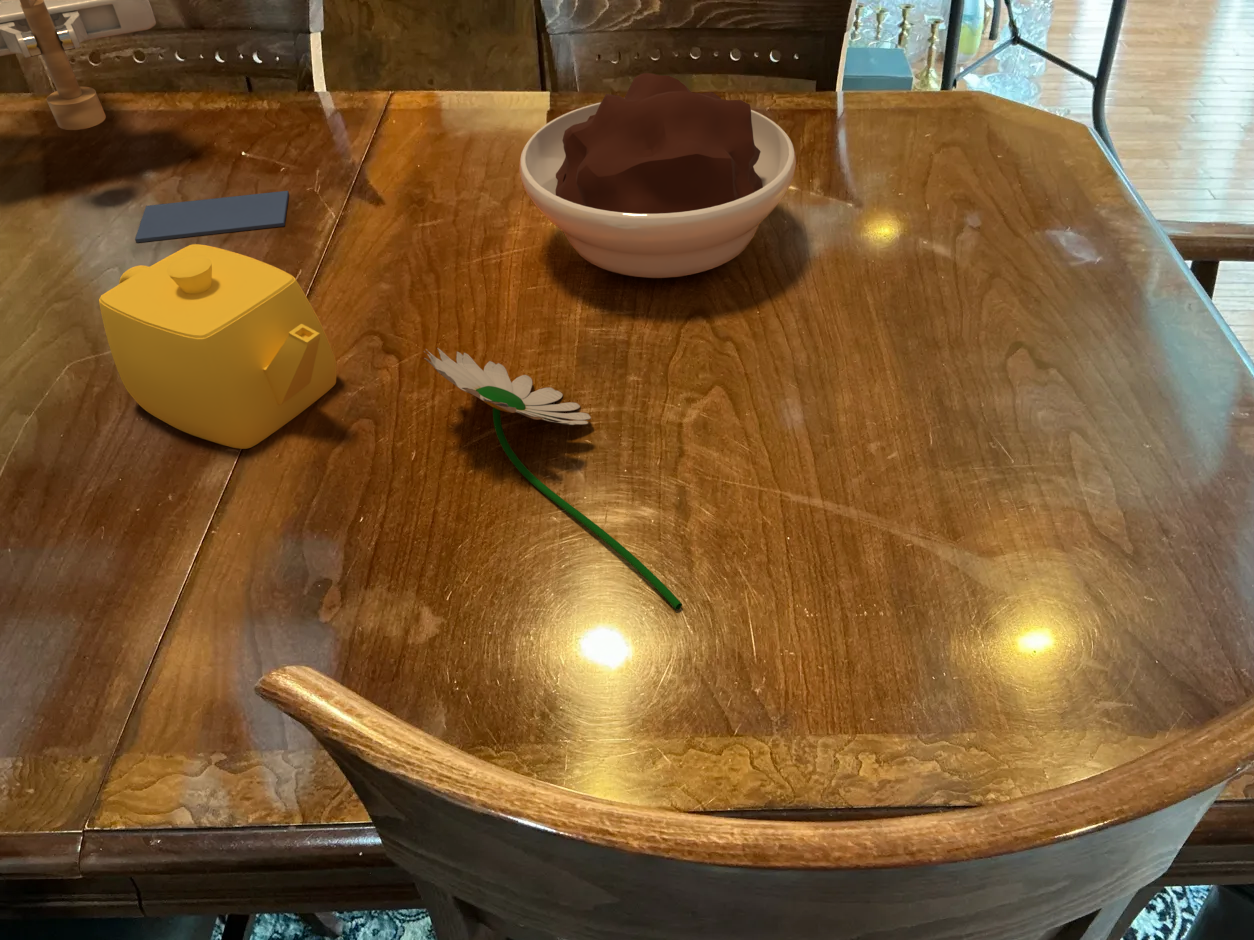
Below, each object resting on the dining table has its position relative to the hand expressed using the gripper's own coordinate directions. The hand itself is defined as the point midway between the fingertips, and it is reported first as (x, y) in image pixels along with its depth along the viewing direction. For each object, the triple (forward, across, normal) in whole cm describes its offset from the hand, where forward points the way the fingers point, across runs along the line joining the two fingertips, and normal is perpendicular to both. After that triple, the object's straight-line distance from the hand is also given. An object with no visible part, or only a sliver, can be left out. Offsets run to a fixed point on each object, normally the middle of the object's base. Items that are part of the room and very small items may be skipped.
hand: (50, 44), depth 100 cm
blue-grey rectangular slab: (+9, +8, +16) cm, 20 cm away
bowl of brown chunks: (+38, +43, +16) cm, 60 cm away
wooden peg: (-1, 0, +8) cm, 8 cm away
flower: (+65, +19, +16) cm, 70 cm away
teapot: (+41, +3, +16) cm, 44 cm away
